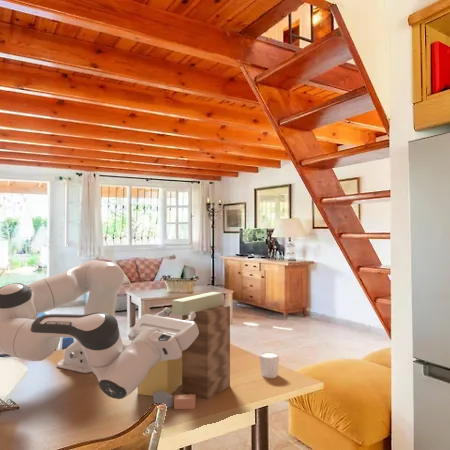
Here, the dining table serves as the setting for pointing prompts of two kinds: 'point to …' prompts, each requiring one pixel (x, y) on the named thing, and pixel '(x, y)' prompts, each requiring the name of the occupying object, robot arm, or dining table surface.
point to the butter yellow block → (162, 377)
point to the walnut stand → (208, 354)
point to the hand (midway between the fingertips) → (180, 311)
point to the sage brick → (196, 303)
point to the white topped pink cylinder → (269, 364)
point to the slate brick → (163, 398)
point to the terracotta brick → (184, 401)
